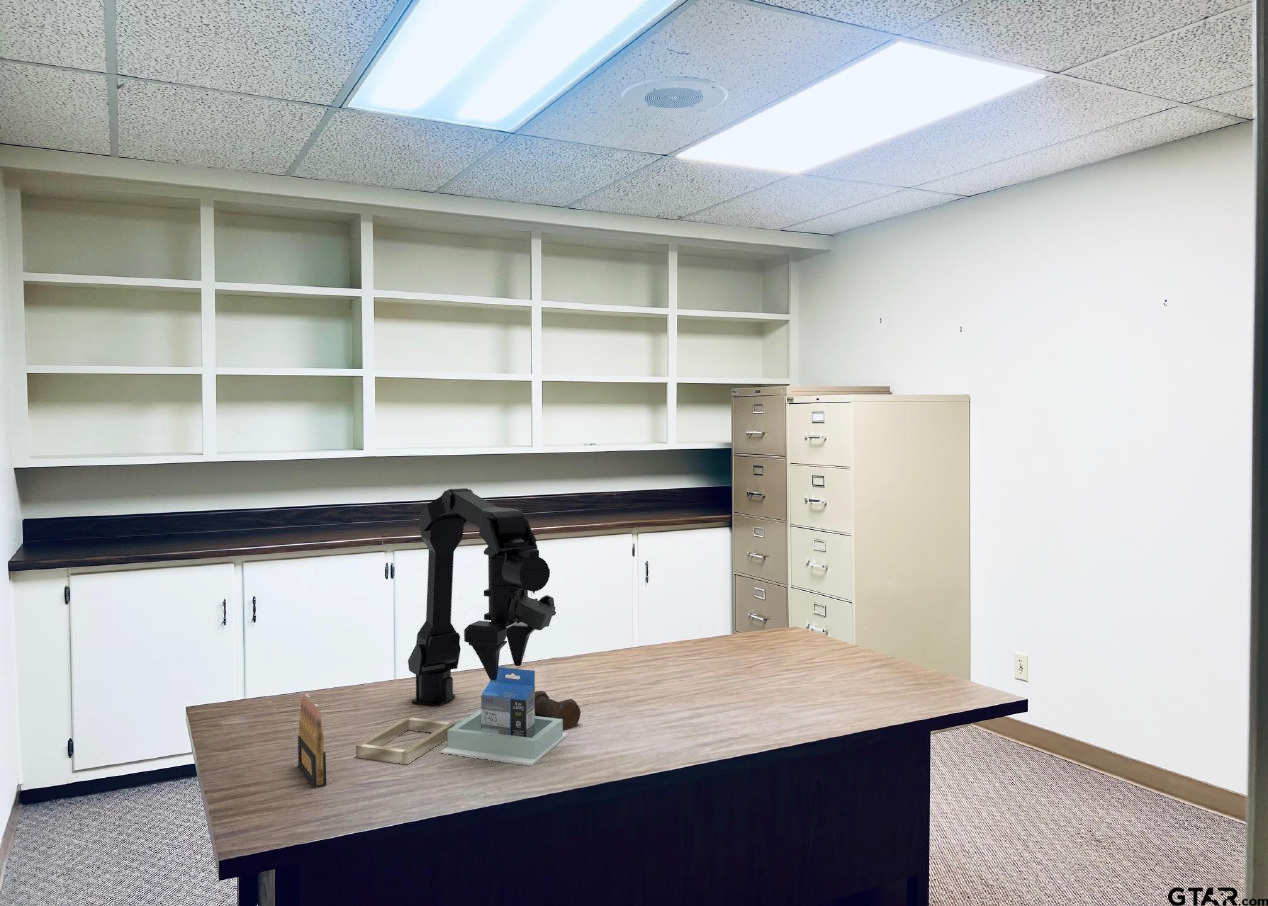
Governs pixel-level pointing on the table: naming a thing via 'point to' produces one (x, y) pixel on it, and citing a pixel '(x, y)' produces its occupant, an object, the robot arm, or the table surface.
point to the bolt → (557, 709)
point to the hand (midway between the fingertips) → (505, 672)
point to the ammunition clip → (311, 744)
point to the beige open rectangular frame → (374, 744)
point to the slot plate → (504, 741)
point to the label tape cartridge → (509, 704)
